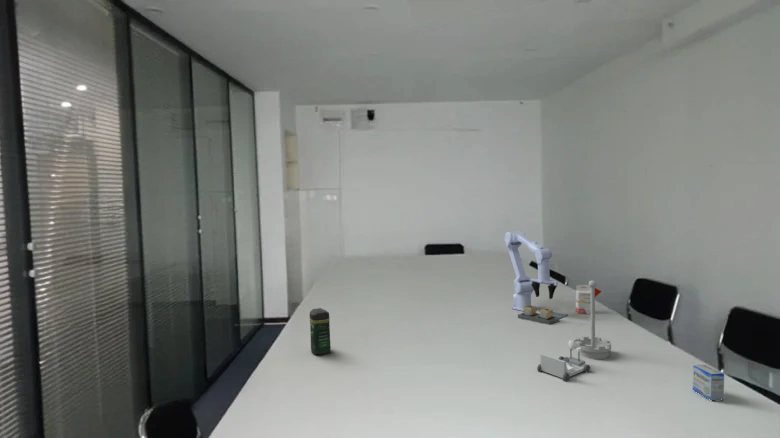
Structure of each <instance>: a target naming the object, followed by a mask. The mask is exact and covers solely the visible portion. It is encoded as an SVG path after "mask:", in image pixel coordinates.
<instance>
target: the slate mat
mask: <svg viewBox="0 0 780 438" xmlns="http://www.w3.org/2000/svg"><path fill="white" fill-rule="evenodd" d="M553 316H555V317H559V320H560V319H562V318H565V317H567V316H568V314H566V313H560V312H556V311H553Z"/></svg>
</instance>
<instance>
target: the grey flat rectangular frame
mask: <svg viewBox="0 0 780 438" xmlns="http://www.w3.org/2000/svg"><path fill="white" fill-rule="evenodd" d="M517 319H521V320H525V321H529V322H535V323H541V324H545V325H552V324H554V323H557V322H559V321H560V319H559V317H555V316H553V319H551V320H546V319H541V318H540V312H539V313H538V312H536V315H535V316H533V317H531V316H526V315H524V312H521V313H519V314H517Z"/></svg>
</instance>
